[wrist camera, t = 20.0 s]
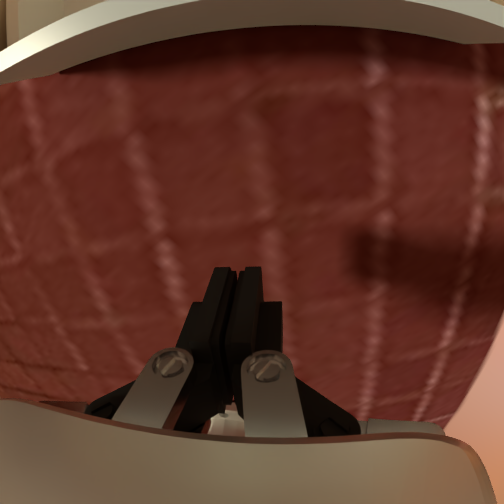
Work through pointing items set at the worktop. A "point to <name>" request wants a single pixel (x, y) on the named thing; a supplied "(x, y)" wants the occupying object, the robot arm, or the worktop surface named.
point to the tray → (213, 24)
